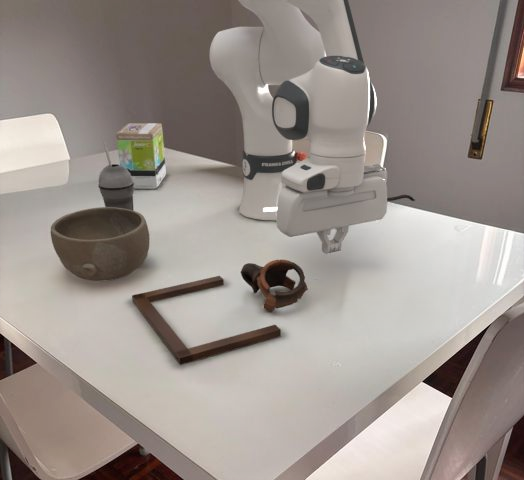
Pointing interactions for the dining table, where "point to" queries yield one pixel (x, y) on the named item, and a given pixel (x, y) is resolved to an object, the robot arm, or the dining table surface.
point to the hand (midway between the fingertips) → (331, 251)
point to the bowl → (101, 242)
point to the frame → (173, 340)
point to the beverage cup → (116, 185)
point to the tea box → (142, 153)
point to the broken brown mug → (275, 282)
